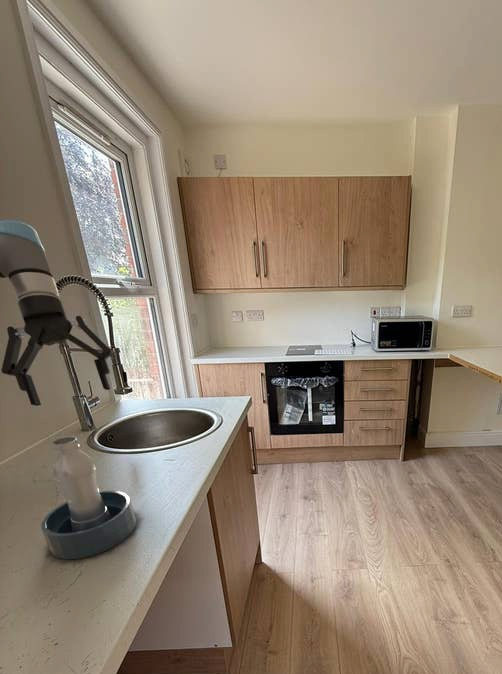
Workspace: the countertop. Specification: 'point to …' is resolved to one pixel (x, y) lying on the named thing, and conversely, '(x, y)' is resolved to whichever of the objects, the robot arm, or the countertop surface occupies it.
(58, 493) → the countertop surface
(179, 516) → the countertop surface
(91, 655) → the countertop surface
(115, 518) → the bowl
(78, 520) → the plastic bottle
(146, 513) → the countertop surface
